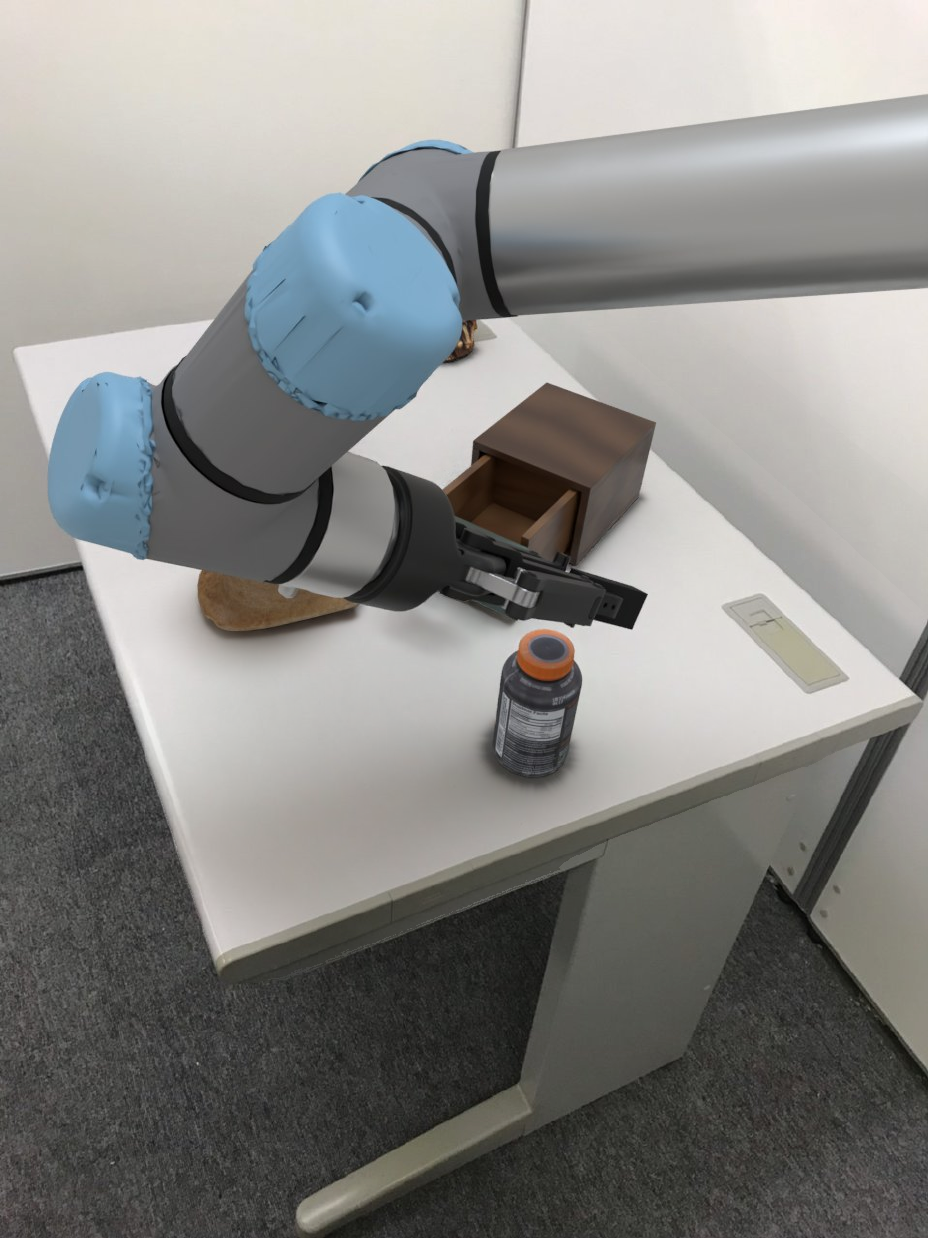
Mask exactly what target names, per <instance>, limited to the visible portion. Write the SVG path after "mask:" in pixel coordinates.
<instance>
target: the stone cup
mask: <svg viewBox="0 0 928 1238" xmlns="http://www.w3.org/2000/svg"><path fill="white" fill-rule="evenodd" d="M197 579H198V580H197V599H198V602H199V606H200V608H201V611H202V613H203V616H205V617H206V618H207V619H209V620H211V621H213V623H214V624H215V626H216V627H217V628H219V629H221V630H223V631H227V632H245V631H255V630H256V631H257V630H263V629H268V628H269V629H270V628H274V627H279V626H282V625H287V624H292V623H296V622H299V621H300V622H301V621H305V620H310V619H313V618H316V617H321V616H324V615H328V614H329V615H330V614H333V613H336V612H337V613H338V612H341V611H345V610H349V609H353V608H356V607H359V606H360V604H358V603H353V602H350V601H347V600H346V599H344V598H335V597H330V596H326V595H321V594H317V593H312V592H310V591H308V590H304V589H299V588H298V590H297V593H296V595H295V596H294V597H292V598H285V597H284V596H283V595H281V594H280V593H279V591H278V588H279V585H278V584H272V583H267V582H258V581H254V580H249V579H244V578H239V577H234V576H229V575H224V574H219V573H214V572H209V571H204V570H200V573H199V575H198V578H197Z"/></svg>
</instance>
